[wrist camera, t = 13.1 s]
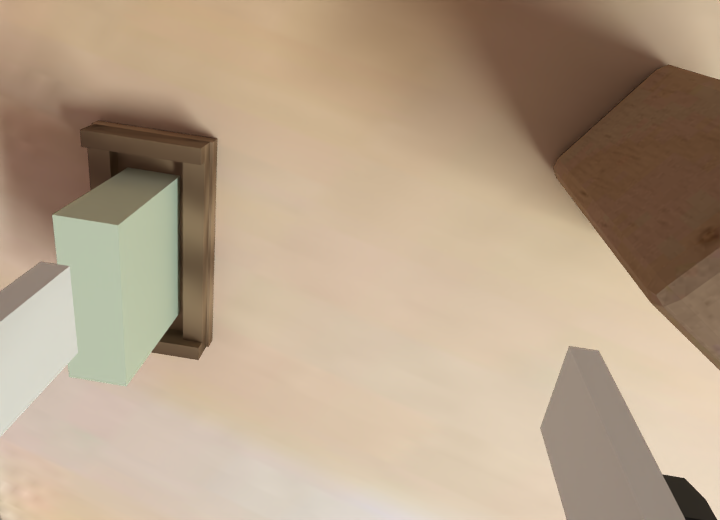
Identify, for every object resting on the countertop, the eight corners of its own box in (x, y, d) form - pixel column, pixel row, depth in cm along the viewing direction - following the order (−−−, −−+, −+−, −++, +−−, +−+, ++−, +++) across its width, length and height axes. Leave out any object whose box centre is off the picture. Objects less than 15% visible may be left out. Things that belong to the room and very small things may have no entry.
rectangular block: (127, 167, 43) (52, 214, 34) (180, 175, 43) (118, 225, 34) (133, 304, 48) (69, 376, 39) (180, 312, 48) (126, 386, 39)
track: (98, 120, 43) (77, 129, 40) (217, 138, 43) (203, 149, 40) (111, 324, 51) (94, 343, 48) (212, 340, 50) (200, 360, 48)
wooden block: (544, 164, 41) (644, 300, 23) (663, 56, 38) (892, 118, 20) (632, 252, 44) (785, 437, 26) (752, 158, 40) (1030, 297, 22)
